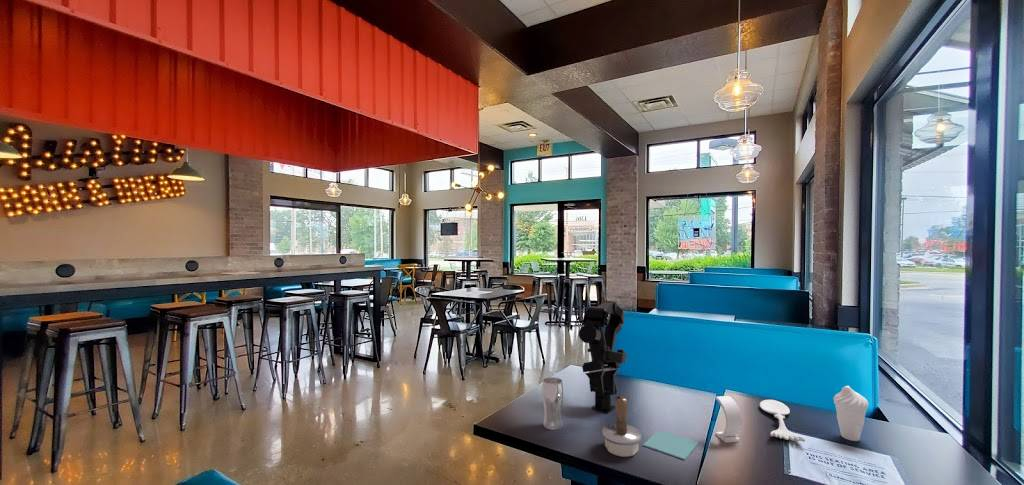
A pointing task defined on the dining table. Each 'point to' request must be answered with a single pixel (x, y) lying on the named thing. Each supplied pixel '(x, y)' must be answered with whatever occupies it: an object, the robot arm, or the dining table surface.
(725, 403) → the headphone stand
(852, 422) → the soft serve ice cream cone
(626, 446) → the cream ceramic bowl
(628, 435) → the lid with wooden handle
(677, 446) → the teal rubber mat
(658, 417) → the dining table surface
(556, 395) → the beer glass
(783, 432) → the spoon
